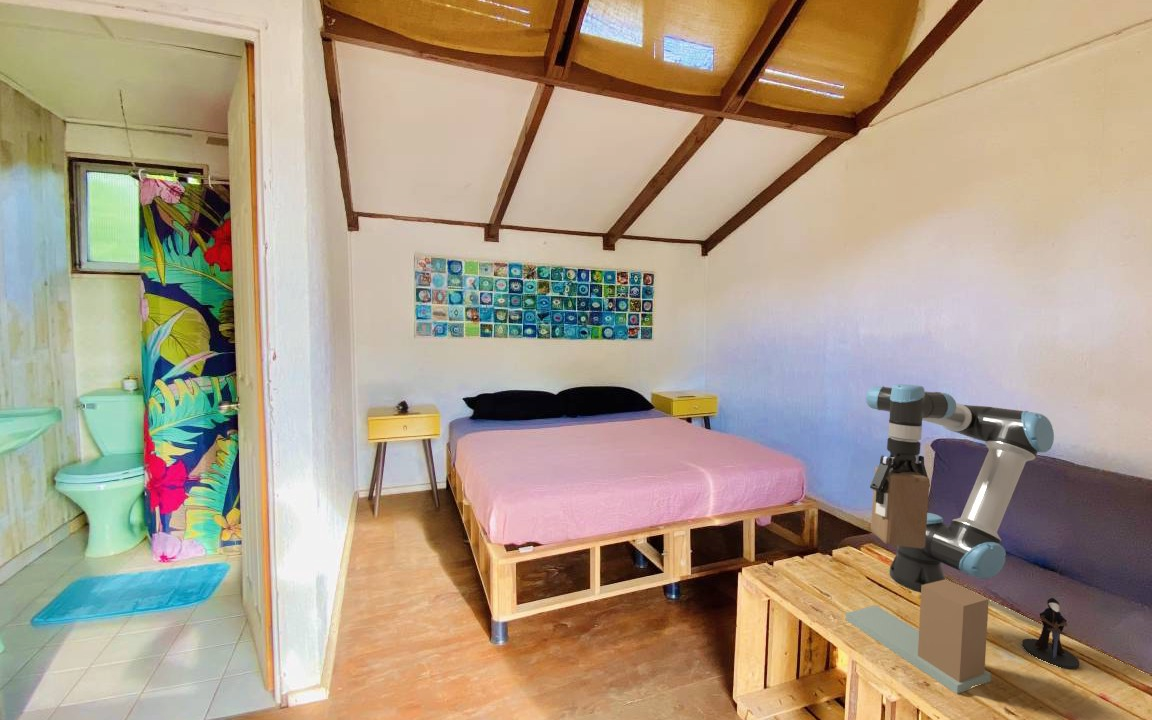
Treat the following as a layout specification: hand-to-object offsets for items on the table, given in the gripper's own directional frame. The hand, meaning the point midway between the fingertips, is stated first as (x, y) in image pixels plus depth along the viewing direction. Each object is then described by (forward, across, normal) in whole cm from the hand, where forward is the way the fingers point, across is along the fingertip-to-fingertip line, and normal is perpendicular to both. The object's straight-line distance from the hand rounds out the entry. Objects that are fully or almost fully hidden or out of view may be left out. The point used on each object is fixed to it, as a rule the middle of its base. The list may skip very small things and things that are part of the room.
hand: (898, 513), depth 125 cm
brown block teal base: (+32, +6, +10) cm, 34 cm away
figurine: (+31, -27, +22) cm, 46 cm away
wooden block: (+8, 0, 0) cm, 8 cm away
